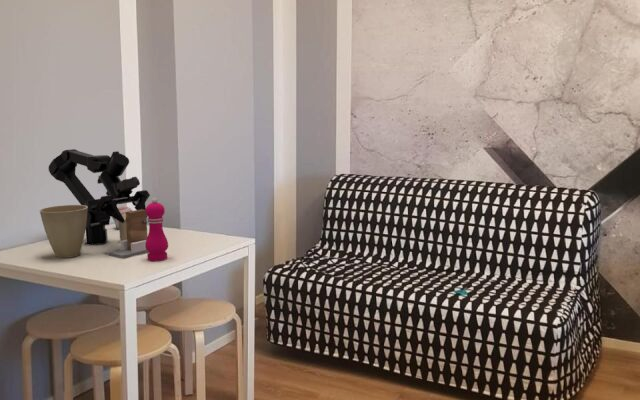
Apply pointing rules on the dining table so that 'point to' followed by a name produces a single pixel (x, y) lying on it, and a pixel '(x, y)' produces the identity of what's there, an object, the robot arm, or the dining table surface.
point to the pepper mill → (156, 232)
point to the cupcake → (123, 210)
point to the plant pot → (65, 228)
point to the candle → (123, 229)
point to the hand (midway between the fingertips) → (135, 220)
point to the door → (136, 226)
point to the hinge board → (136, 249)
